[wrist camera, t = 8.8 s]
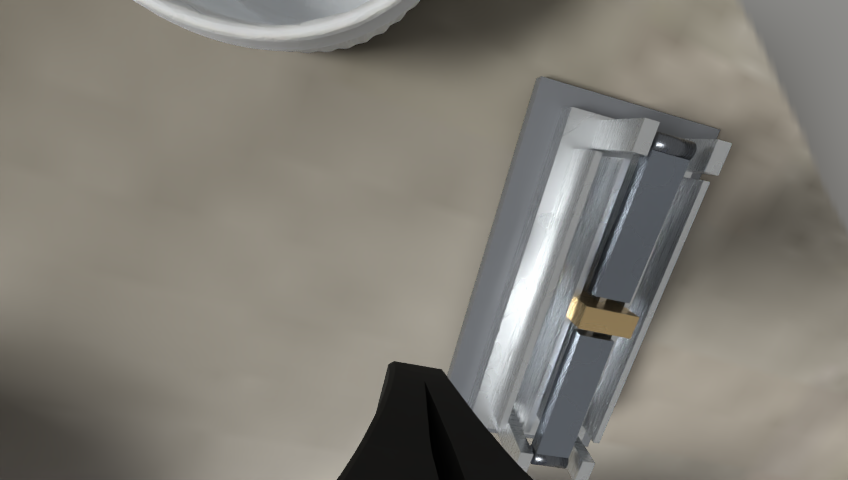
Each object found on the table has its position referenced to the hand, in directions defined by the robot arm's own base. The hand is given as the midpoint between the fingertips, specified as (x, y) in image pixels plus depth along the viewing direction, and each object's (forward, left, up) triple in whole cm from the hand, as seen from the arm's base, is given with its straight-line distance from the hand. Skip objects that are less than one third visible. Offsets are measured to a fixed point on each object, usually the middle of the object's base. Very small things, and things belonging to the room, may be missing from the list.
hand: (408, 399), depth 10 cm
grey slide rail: (+1, -9, -9) cm, 13 cm away
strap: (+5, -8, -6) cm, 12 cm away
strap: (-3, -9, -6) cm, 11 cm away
